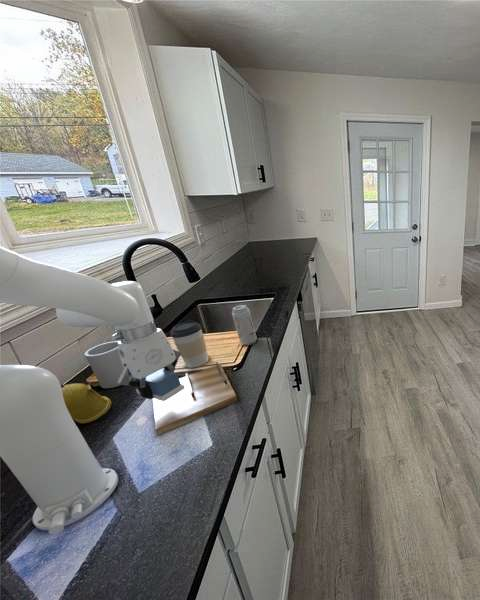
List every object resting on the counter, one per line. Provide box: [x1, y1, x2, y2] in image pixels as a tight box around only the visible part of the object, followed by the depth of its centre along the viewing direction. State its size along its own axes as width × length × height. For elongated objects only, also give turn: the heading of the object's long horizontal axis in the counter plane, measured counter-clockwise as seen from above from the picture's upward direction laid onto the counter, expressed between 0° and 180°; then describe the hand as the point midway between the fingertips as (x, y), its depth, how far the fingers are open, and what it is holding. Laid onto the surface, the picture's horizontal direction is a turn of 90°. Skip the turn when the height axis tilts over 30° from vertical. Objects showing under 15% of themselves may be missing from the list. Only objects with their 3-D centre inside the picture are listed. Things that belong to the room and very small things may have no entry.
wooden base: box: [151, 361, 238, 436], centre depth 92 cm, size 22×19×4 cm
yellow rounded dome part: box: [60, 382, 112, 425], centre depth 84 cm, size 12×8×15 cm
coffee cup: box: [169, 319, 210, 369], centre depth 108 cm, size 9×9×15 cm
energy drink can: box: [231, 304, 258, 346], centre depth 120 cm, size 6×6×15 cm
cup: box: [84, 340, 134, 389], centre depth 102 cm, size 9×9×12 cm
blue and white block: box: [135, 368, 185, 401], centre depth 84 cm, size 11×6×5 cm, turn 69°
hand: (160, 390), depth 85 cm, fingers closed on blue and white block, 5 cm apart
